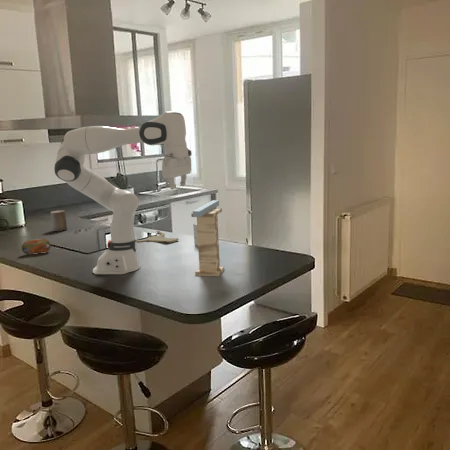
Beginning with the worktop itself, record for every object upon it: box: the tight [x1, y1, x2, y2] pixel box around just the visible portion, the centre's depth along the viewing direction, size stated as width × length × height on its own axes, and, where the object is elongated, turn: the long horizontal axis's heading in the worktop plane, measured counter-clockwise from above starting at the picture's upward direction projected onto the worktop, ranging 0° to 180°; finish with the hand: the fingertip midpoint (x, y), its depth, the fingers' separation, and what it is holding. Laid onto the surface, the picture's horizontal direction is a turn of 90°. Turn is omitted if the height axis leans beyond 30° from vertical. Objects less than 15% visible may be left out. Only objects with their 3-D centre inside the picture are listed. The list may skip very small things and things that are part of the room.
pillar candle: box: [49, 209, 68, 232], centre depth 324 cm, size 10×10×15 cm
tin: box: [21, 238, 51, 255], centre depth 262 cm, size 15×3×8 cm, turn 109°
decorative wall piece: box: [135, 230, 179, 244], centre depth 285 cm, size 30×3×30 cm
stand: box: [191, 207, 225, 277], centre depth 212 cm, size 14×11×29 cm
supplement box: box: [193, 222, 198, 247], centre depth 266 cm, size 7×7×13 cm
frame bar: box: [192, 199, 220, 218], centre depth 209 cm, size 30×3×2 cm, turn 165°
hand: (178, 187), depth 188 cm, fingers open, 8 cm apart
